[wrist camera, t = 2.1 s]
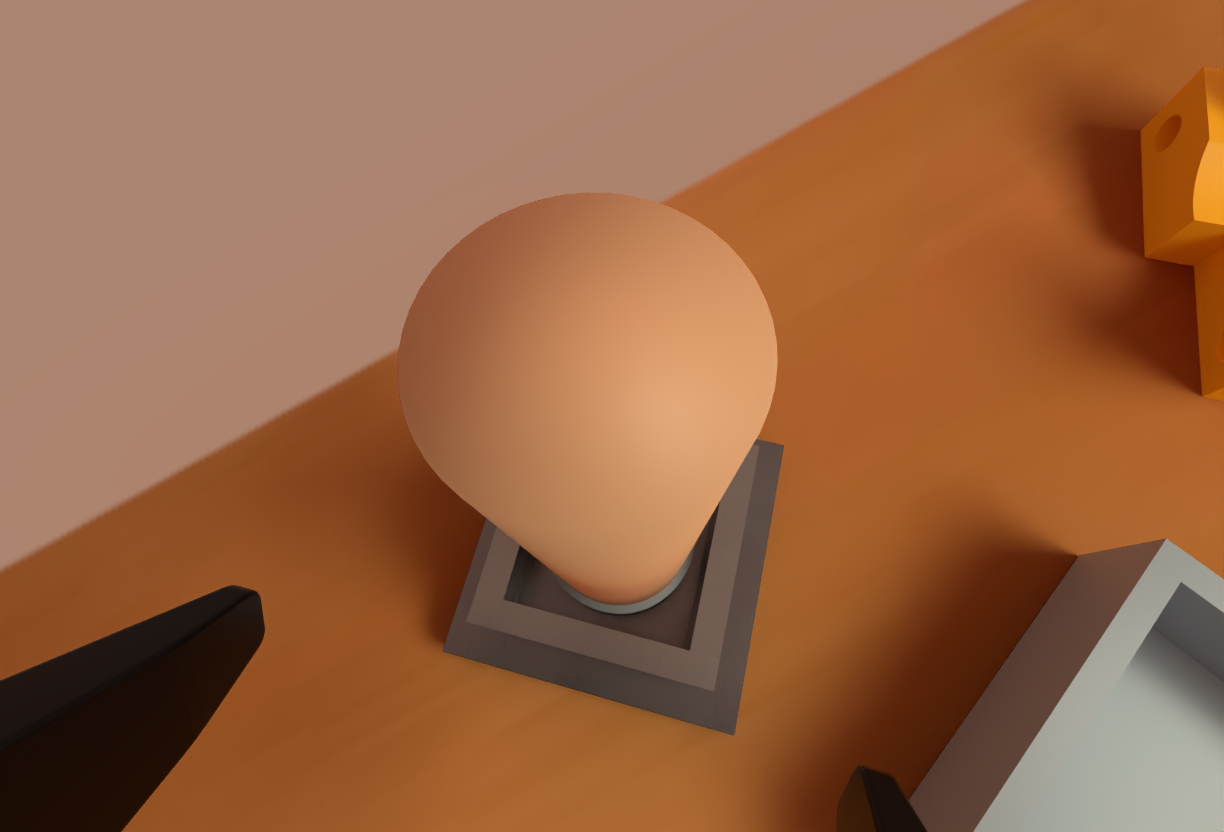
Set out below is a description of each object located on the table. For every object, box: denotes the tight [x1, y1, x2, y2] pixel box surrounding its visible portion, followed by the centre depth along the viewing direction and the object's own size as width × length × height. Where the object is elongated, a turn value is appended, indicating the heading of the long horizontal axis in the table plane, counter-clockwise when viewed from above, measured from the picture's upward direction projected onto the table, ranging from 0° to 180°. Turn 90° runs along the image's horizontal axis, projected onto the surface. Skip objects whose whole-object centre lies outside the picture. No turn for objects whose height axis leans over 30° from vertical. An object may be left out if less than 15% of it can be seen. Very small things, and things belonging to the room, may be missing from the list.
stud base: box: [443, 439, 784, 735], centre depth 19 cm, size 9×9×4 cm
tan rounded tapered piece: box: [397, 193, 778, 616], centre depth 13 cm, size 4×4×14 cm
